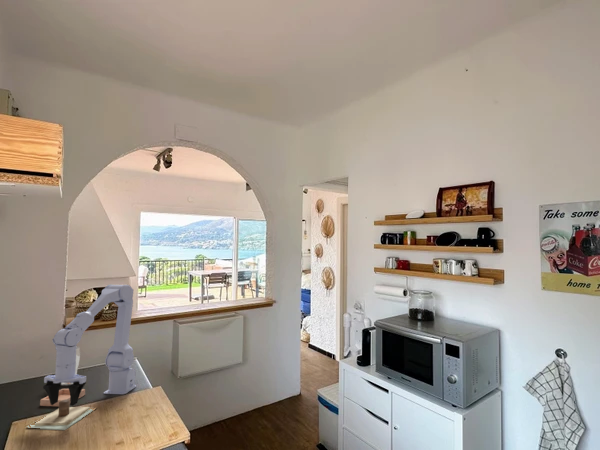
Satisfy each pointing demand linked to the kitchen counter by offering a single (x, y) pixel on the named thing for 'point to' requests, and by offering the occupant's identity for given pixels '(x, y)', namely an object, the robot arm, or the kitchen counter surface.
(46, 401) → the dish
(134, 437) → the kitchen counter surface
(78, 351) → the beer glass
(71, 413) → the lid
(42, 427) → the mat
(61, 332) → the robot arm
